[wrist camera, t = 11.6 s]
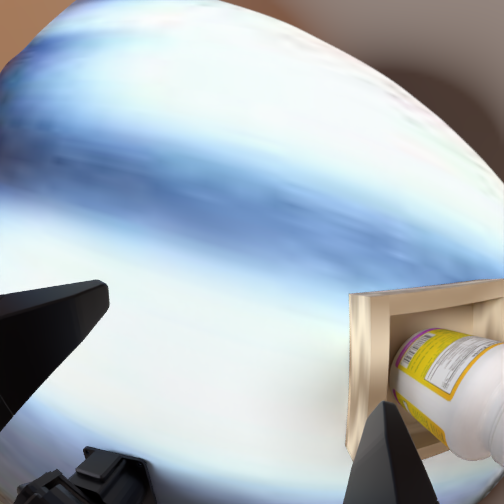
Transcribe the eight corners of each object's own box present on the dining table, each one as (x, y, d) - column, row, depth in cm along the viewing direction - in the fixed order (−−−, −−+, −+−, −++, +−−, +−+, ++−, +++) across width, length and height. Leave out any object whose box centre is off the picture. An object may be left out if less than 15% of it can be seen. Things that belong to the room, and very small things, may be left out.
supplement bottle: (447, 401, 18) (545, 464, 6) (379, 409, 19) (464, 508, 6) (461, 324, 19) (584, 346, 6) (393, 325, 19) (518, 366, 7)
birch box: (467, 412, 19) (495, 429, 14) (345, 445, 19) (359, 475, 15) (478, 279, 20) (512, 278, 15) (348, 293, 20) (370, 296, 16)
